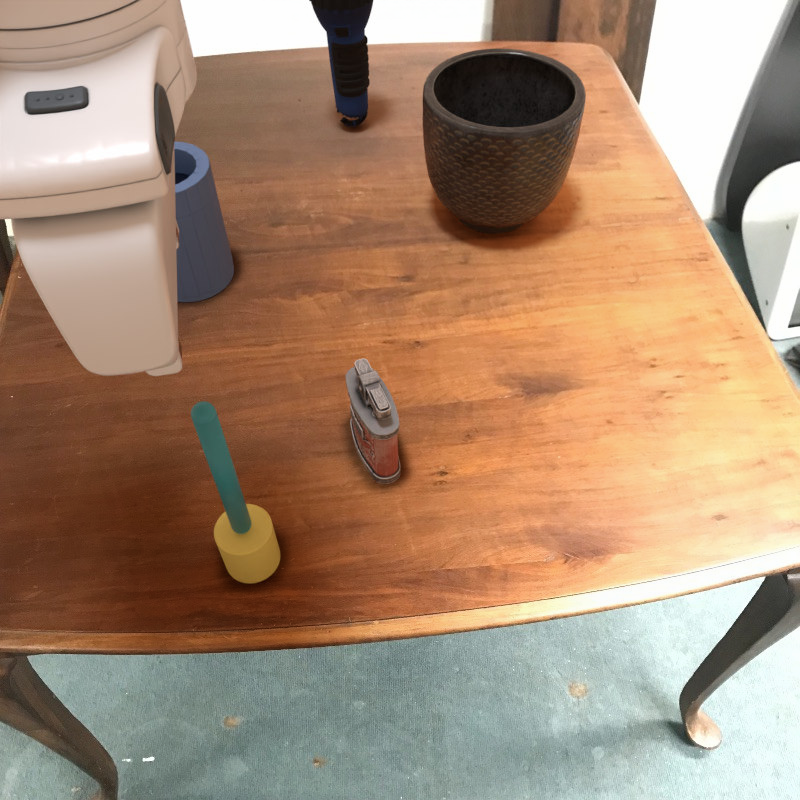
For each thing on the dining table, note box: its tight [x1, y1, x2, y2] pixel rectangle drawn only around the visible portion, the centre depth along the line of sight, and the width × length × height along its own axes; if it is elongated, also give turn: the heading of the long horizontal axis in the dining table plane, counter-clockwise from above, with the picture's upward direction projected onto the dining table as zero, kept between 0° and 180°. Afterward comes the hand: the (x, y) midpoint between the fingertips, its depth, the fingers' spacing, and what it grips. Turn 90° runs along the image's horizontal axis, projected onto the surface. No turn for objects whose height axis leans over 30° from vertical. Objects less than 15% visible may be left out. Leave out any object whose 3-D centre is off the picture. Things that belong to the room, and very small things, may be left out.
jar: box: [174, 141, 235, 303], centre depth 82 cm, size 9×9×14 cm
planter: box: [422, 47, 587, 235], centre depth 88 cm, size 17×17×16 cm
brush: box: [190, 400, 281, 584], centre depth 57 cm, size 5×5×21 cm
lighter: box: [345, 358, 402, 485], centre depth 68 cm, size 8×3×10 cm, turn 22°
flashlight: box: [309, 0, 374, 128], centre depth 98 cm, size 8×8×20 cm
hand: (165, 300), depth 42 cm, fingers open, 8 cm apart
